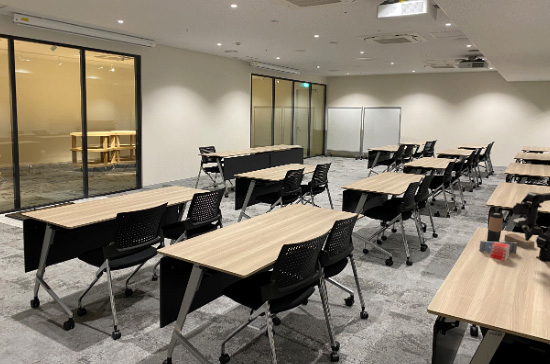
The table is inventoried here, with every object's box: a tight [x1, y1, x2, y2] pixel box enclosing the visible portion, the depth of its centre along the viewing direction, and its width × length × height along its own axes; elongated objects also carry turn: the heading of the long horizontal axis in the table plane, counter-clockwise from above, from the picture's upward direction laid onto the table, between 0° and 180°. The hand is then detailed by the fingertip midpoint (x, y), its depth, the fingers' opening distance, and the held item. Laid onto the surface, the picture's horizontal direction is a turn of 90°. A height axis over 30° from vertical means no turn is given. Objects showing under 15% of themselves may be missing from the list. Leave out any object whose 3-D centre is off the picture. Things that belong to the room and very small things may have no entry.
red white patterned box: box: [489, 241, 510, 262], centre depth 251 cm, size 8×8×8 cm
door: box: [484, 240, 513, 254], centre depth 259 cm, size 3×16×6 cm, turn 89°
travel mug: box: [486, 211, 504, 242], centre depth 276 cm, size 8×8×20 cm
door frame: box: [478, 240, 518, 254], centre depth 260 cm, size 2×21×6 cm, turn 88°
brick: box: [504, 233, 536, 249], centre depth 277 cm, size 17×8×5 cm, turn 20°
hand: (526, 240), depth 246 cm, fingers closed
